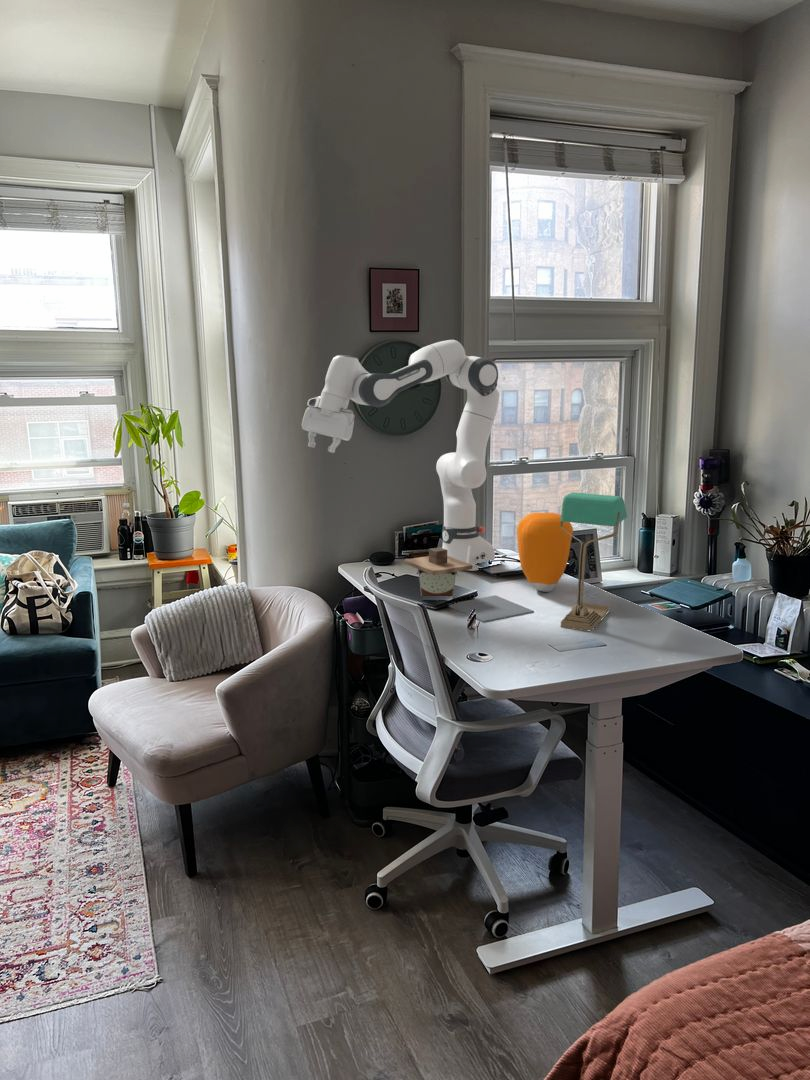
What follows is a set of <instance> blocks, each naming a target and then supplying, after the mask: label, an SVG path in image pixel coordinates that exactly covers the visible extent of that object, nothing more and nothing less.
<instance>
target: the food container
mask: <svg viewBox="0 0 810 1080" xmlns="http://www.w3.org/2000/svg"><path fill="white" fill-rule="evenodd" d="M416 575H418V580H419V588H420V589H419V590H420V597H421V596H453V597H454V592H455V586H456V577H458V576H459V575H458V571H457V572H451V573H444V574H438V575H431V574H429V573H426V572H424V571H421V570H419V569H417V571H416ZM456 575H457V576H456Z"/></svg>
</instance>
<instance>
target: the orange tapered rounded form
mask: <svg viewBox="0 0 810 1080" xmlns="http://www.w3.org/2000/svg"><path fill="white" fill-rule="evenodd" d="M560 521H561V514H559V513H556V512H532V513H528V514H527V515H525V516H524V517H523V518H522V519H521V520H520V521H519V522H518V524H517V528H516V537H517V549H518V557H519V562H520V563H519V564H520V567H521V570H522V572H523V574H524V576H525V577H526V580H527V581H528V582H529V584H530V586H531V587H532V588H533V589H534V590H536V591H538V592H544V593H548V592H551V591H552V590H553V589H554V588H555V586H556V584H557V583H558V582H559V581H560V579H561V578H562V576H563V574H564V572H565V571H566V567H567V565H568V561H569V555H570V549H571V543H572V540H573V539H572V538H573V537H572V536H570V535H568V534H567V533H565V532H564V531H563V530H562V529H561V527H560ZM562 528H563V529H564V530H566V531H567V532H568V533H570V534H571V535H573V534H574V533H573V532H574V526H572V522H563V525H562Z"/></svg>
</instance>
